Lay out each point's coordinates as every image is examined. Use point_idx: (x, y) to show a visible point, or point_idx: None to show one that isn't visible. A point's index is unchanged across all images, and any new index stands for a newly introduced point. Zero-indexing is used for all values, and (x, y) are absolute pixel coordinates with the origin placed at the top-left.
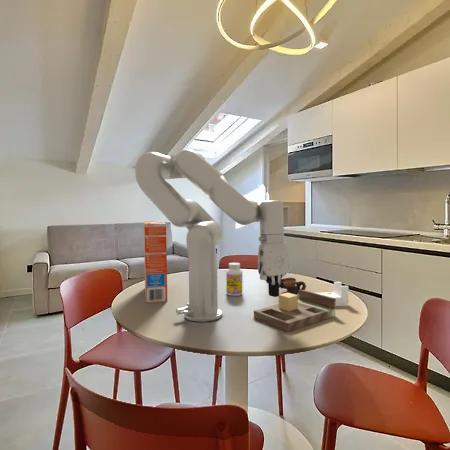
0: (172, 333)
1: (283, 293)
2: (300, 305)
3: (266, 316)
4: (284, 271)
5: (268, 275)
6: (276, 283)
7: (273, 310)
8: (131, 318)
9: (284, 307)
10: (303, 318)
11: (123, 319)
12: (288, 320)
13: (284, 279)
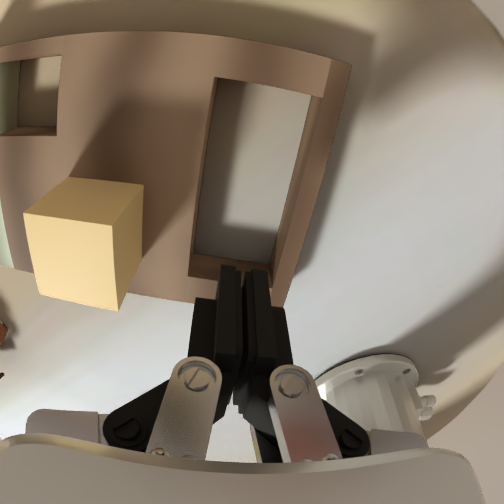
0: (493, 342)
1: (1, 341)
2: (26, 200)
3: (306, 228)
4: (120, 488)
5: (460, 456)
6: (223, 374)
7: (189, 258)
8: (434, 426)
9: (138, 223)
10: (194, 35)
11: (442, 426)
12: (298, 85)
13: None
